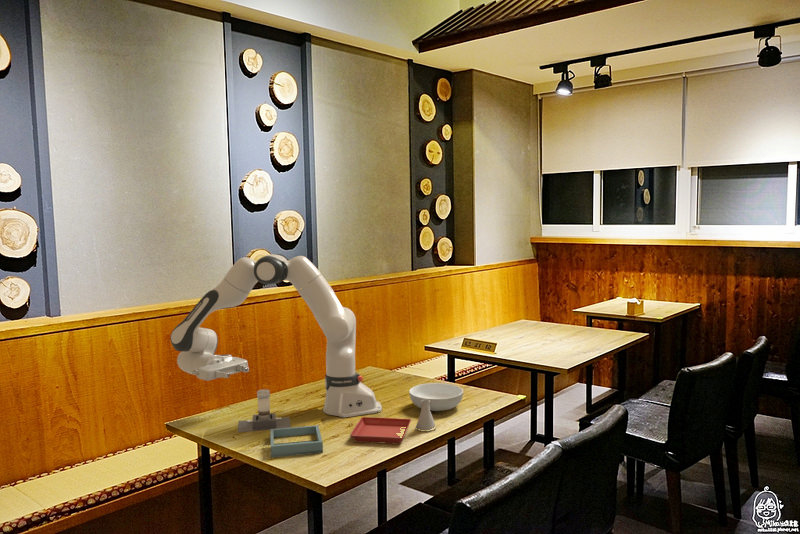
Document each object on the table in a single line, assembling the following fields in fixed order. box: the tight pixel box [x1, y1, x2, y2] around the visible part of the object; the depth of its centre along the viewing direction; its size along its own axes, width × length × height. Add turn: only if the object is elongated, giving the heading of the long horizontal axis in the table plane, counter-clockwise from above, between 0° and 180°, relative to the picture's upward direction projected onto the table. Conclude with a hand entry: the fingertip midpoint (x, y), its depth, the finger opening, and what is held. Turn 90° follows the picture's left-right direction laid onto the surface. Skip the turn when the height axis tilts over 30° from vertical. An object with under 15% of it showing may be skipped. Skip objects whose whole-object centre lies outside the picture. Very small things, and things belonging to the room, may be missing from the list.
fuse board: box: [237, 412, 292, 433], centre depth 219 cm, size 18×12×4 cm, turn 102°
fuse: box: [256, 388, 271, 420], centre depth 219 cm, size 4×4×12 cm
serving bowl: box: [408, 382, 464, 412], centre depth 239 cm, size 21×21×7 cm
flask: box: [415, 400, 436, 430], centre depth 215 cm, size 7×7×10 cm
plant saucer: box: [349, 416, 412, 444], centre depth 210 cm, size 18×18×3 cm
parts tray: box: [269, 424, 324, 459], centre depth 201 cm, size 16×16×4 cm
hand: (237, 372), depth 224 cm, fingers open, 8 cm apart
